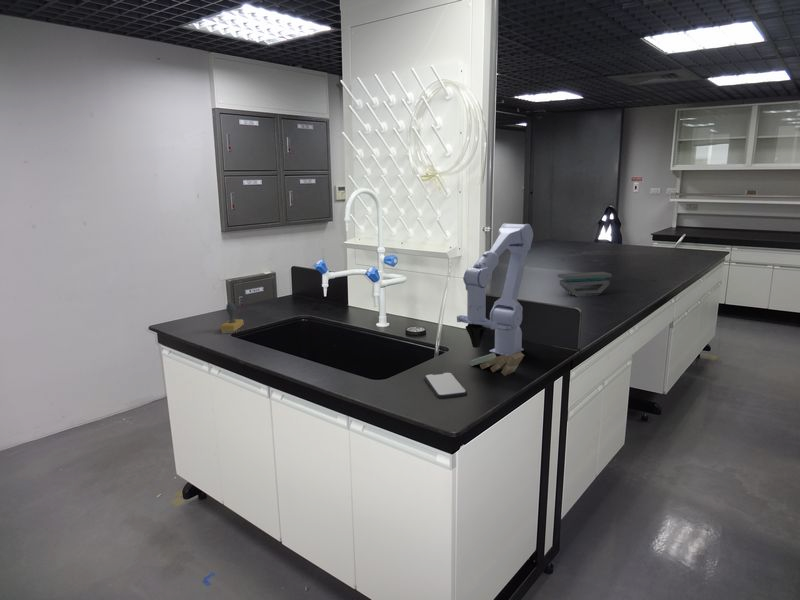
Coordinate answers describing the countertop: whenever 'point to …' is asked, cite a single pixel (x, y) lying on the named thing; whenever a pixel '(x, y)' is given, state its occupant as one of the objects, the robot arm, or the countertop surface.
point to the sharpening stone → (585, 282)
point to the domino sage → (482, 359)
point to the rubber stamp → (231, 320)
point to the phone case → (445, 385)
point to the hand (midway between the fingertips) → (476, 346)
